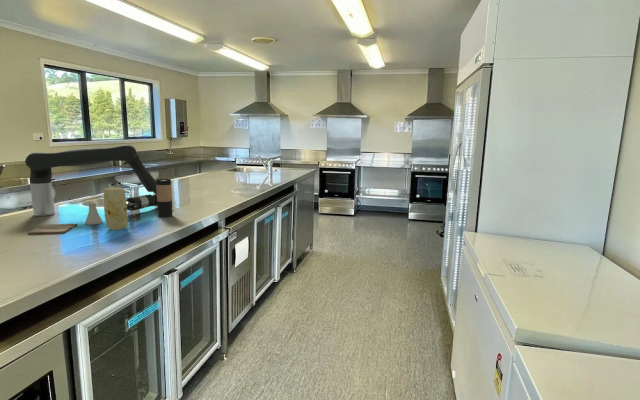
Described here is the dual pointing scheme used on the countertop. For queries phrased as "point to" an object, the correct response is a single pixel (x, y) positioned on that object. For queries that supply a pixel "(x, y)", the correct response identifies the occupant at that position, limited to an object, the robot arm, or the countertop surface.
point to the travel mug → (164, 197)
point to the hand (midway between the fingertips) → (111, 207)
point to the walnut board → (52, 229)
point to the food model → (115, 208)
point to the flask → (93, 215)
